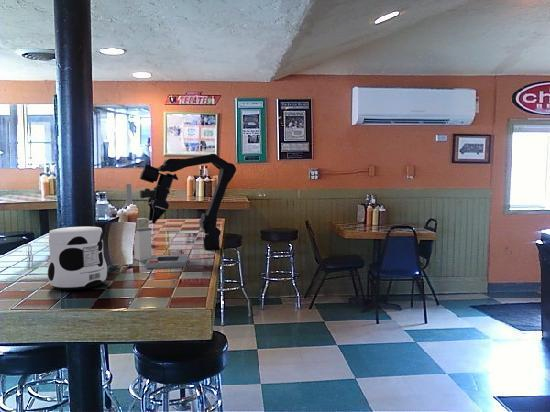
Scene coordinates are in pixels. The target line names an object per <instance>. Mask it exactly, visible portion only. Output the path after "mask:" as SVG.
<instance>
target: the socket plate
mask: <svg viewBox="0 0 550 412" xmlns="http://www.w3.org/2000/svg"><path fill="white" fill-rule="evenodd" d="M188 256H189V255H188V254H172V255H171V254H169V255H167V254H166V255H152V256H151V257H150V258H149V260H146V262H145V269H146V270H147V269H176V268H180V269H181V268H185V267H186V265H187V263H188V261H189V257H188Z"/></svg>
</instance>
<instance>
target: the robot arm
mask: <svg viewBox="0 0 550 412" xmlns="http://www.w3.org/2000/svg"><path fill="white" fill-rule="evenodd" d="M205 164H211V165H212V166H214V167H215V169H218V179H217V184H216V187H215V189H214V192H213V195H212V197H211V201H210V203H209V207H208V209H207V211H206V212H205V213H201V216H200V219H199V220H198V222H199V228H200V230H202V231H203V233H204V238H203V248H204V250H205V251H207V250H208V251H209V250H212V251H213V250H220V249H221V245H220V236H221V232H222V231H221V229H219V228H218V227H217V222H218V213H219V211H220V207H221V205H222V201H223V198H224V196H225V193H226V190H227V187H228V184H229V183H230V182H231V180H233V177H234V175H235V174H236V171H237V168H236V165H235V164H233V163H232V162H228V161H226V160H225V159H224V158H221V157H220V156H218V155H217V154H216V153H209V154H205V155H198V156H192V157H188V158H187V157H186V158H166V159H165V160H164V161H163V163H162V164H161V165H160V166H158V167H154V166H151V165H150V164H147V163H146V164H144V167H143V169H142V170H141V172H140V175H139V179H140V180H142V181H145V182H148V183H151V184H154V183H156V186H154V187H153V189H150V188H149V187H148V188H144V189H140V190H139V197H140V199H145V198H146V199H147V201H146V202H147V205H148V207H149V216H148V220H149V221H150V222H151V224H156V222H157V221H158V220H160V218H161V217H162V216H163V215H164V214H165V212H167V210H169V206H170V204H169V203H168V202H167V199H168V195H170V194H171V192H170V190H171V187H172V184H173V181H174V180H175V181H179V177H178V176H177V174H176V173H175V172H178V171H180V170H183V169H186V168H188V167H195V166H199V165H205ZM165 172H166V173H165ZM164 173H165V174H164ZM172 173H174V174H172Z"/></svg>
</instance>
